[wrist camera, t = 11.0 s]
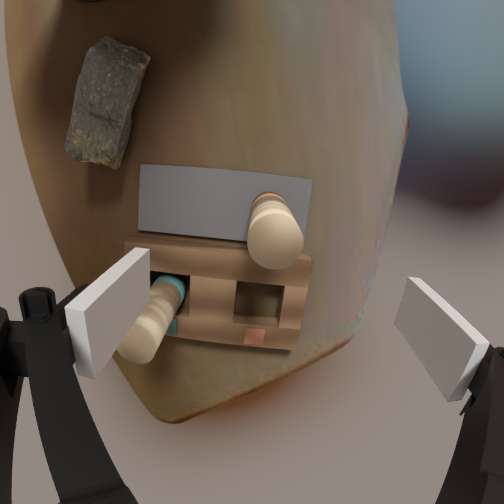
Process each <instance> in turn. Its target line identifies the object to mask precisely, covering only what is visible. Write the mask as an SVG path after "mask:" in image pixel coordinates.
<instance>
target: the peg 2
mask: <svg viewBox="0 0 504 504" xmlns="http://www.w3.org/2000/svg"><path fill="white" fill-rule="evenodd" d="M303 243H304V241H303V235H302V232H301V230H300V228H299V226H298V224H297V222H296V221H295V219H294V217H293V215H292V213H291V212H290V210H289V207H288V205H287V204H286V202H285V200H284V199H283V197H282V196H280V195H279V194H277V193H275V192H264V193H261V194H259V195H258V196H257V197H256V198H255V199H254V201H253V203H252V206H251V212H250V224H249V231H248V239H247V246H248V251H249V253H250V255H251V257H252V258H253V260H254V261H255V262H256V263H258V264H259V265H261V266H262V267H265V268H268V269H283V268H286V267H288V266H290V265H291V264H293V263H294V262H295V261H296V260H297V259H298V257H299V256H300V254H301V252H302V249H303Z"/></svg>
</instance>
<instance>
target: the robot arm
mask: <svg viewBox="0 0 504 504" xmlns="http://www.w3.org/2000/svg"><path fill="white" fill-rule="evenodd" d="M79 1H84V2H93V1H99V0H79ZM149 301H150V249H146V248H138V247H135V248H134V249H133V250H132V251H130V252H129V253H128V254H127V255H125V256H124V257H123V258H122V259H120V260H119V261H118V262H117V263H115V264H114V265H113V266H112V267H111V268H109V269H108V270H107V271H106V272H105V273H103V274H102V275H101V276H100V277H99V278H97V279H96V280H95V281H94V282H93V283H92V284H90V285H89V284H85V285H83V286H81V287H78V288H76V289H75V290H74V291H73V292H71V293H70V295H68V296H67V297H65V299H63V300H62V301H61V302H60V303H58V304H57V305H56V299H55V293H54V291H53V290H52V289H49V288H45V287H35V288H31V289H28V290H26V291H24V292H22V294H20V296H19V303H20V308H21V312H22V317H23V321H9V318H8V313H7V311H6V309H4V308H2V307H0V504H11V503H12V499H11V488H12V483H11V482H12V462H13V448H14V438H15V428H16V421H17V413H18V407H19V401H20V395H21V389H22V384H23V379H24V377H29V382H30V389H31V394H32V400H33V406H34V411H35V416H36V420H37V425H38V429H39V433H40V437H41V441H42V445H43V448H44V452H45V456H46V459H47V463H48V466H49V469H50V472H51V475H52V479H53V481H54V484H55V487H56V490H57V493H58V496H59V498H60V503H58V504H138V502H137V501H136V499H135V497H134V496H133V494H132V492H131V491H130V489H129V488H128V487H127V486H126V485H125V484H124V482H123V480H122V479H121V477H120V475H119V473H118V471H117V469H116V468H115V466H114V464H113V462H112V460H111V458H110V456H109V454H108V452H107V450H106V448H105V446H104V443H103V441H102V439H101V437H100V435H99V432H98V430H97V428H96V426H95V423H94V421H93V419H92V417H91V414H90V411H89V409H88V407H87V404H86V402H85V399H84V396H83V394H82V391H81V388H80V385H79V383H78V380H77V377H76V374H75V372H74V368H73V364H74V362H75V364H76V368H77V372H78V375H82V376H85V377H89V378H92V379H97V377H98V376H99V374H100V373H101V371H102V370H103V368H104V367H105V365H106V364H107V362H108V361H109V359H110V358H111V356H112V355H113V353H114V352H115V350H116V349H117V347H118V346H119V344H120V343H121V341H122V340H123V338H124V337H125V335H126V334H127V333H128V331H129V330H130V328H131V327H132V325H133V324H134V322H135V321H136V319H137V318H138V317H139V315H140V314H141V312H142V311H143V309H144V308H145V307H146V305H147V304H148V302H149ZM394 324H395V325H396V327H397V328H398V329H399V331H400V332H401V333H402V335H403V336H404V337H405V339H406V341H407V342H408V344H409V345H410V346H411V348H412V349H413V351H414V352H415V354H416V355H417V356H418V358H419V360H420V361H421V362H422V364H423V365H424V367H425V368H426V370H427V371H428V373H429V374H430V376H431V377H432V379H433V380H434V382H435V383H436V385H437V386H438V388H439V390H440V391H441V392H442V394H443V396H444V397H445V399H446V400H447V402H452V401H458V400H461V399H462V397H463V396H464V394H465V392H466V390H467V389H469V390H470V391H471V393H472V394H471V396H470V398H469V399H468V401H467V403H466V405H465V406H464V408H463V410H462V411H461V413H460V415H462V414H463V413H465V414H464V418H463V422H462V427H461V430H460V434H459V437H458V441H457V444H456V448H455V451H454V454H453V457H452V460H451V463H450V466H449V469H448V472H447V475H446V478H445V480H444V483H443V486H442V488H441V491H440V493H439V496H438V498H437V501H436V503H435V504H504V348H503V347H497V348H495V349H494V348H493V347H492V345H490V343H489V342H488V341H487V340H486V339H485V338H484V337H483V336H482V335H481V334H480V333H479V332H478V331H477V330H476V329H475V328H474V327H473V326H472V325H471V324H470V323H469V322H468V321H467V320H465V319H464V318H463V317H462V316H461V315H460V314H459V313H458V312H457V311H456V310H455V309H454V308H453V307H451V306H450V305H449V304H448V303H447V302H446V301H445V300H444V299H443V298H441V297H440V296H439V295H438V294H437V293H436V292H435V291H434V290H432V289H431V288H430V287H429V286H428V285H427V284H426V283H425V282H423V281H422V280H421V279H420V278H413V277H408V278H407V282H406V286H405V289H404V293H403V296H402V300H401V303H400V306H399V310H398V313H397V316H396V319H395V322H394Z"/></svg>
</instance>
